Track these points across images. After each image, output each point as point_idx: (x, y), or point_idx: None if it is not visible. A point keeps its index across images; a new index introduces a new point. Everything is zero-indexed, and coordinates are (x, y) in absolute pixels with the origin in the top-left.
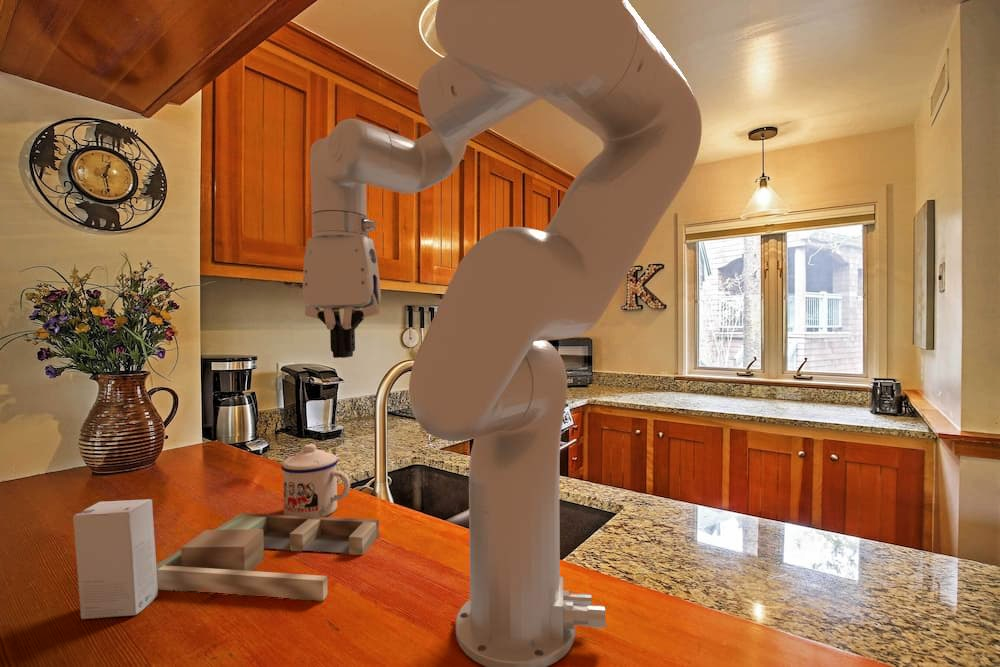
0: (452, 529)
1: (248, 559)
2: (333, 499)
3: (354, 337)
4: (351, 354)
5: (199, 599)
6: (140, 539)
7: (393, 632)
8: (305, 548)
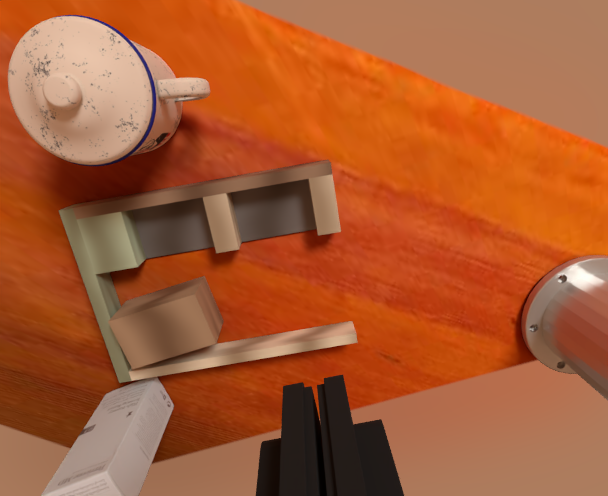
0: (446, 97)
1: (216, 322)
2: (181, 101)
3: (397, 477)
4: (346, 392)
5: None
6: (141, 456)
7: (456, 349)
8: (241, 236)
